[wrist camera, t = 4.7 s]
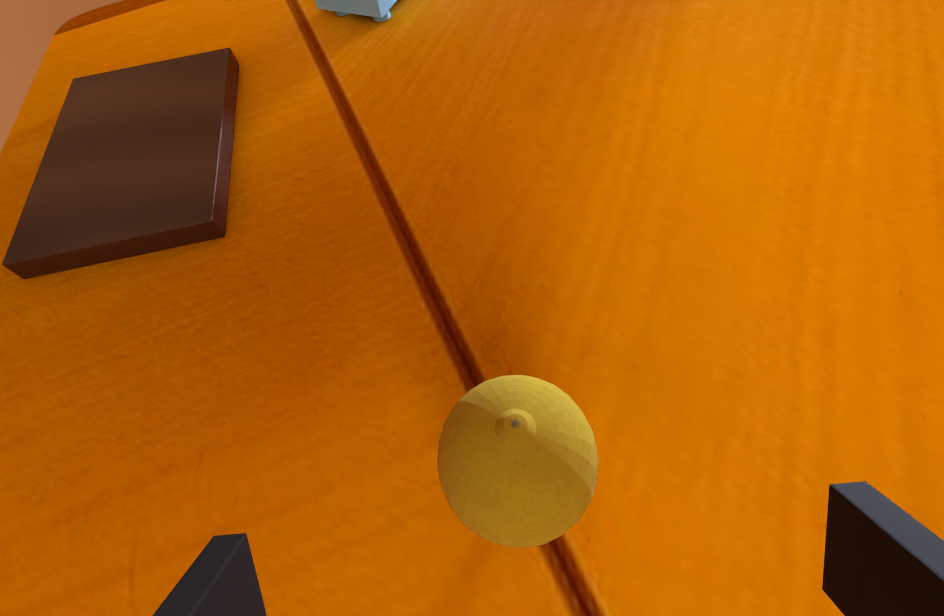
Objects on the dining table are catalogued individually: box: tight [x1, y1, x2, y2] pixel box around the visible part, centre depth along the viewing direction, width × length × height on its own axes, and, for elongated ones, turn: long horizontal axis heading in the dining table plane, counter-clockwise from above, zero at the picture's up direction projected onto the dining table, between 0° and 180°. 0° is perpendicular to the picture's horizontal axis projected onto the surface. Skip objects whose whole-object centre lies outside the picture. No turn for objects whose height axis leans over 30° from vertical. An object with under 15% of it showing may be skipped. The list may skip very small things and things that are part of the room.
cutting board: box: [2, 48, 239, 279], centre depth 33 cm, size 18×12×2 cm, turn 11°
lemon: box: [437, 375, 598, 548], centre depth 17 cm, size 6×6×8 cm
